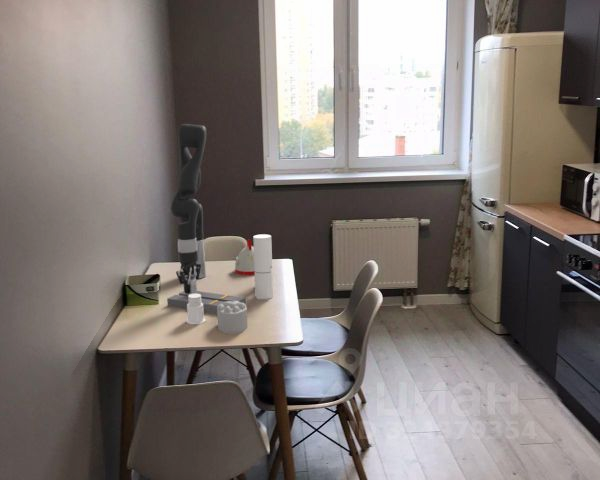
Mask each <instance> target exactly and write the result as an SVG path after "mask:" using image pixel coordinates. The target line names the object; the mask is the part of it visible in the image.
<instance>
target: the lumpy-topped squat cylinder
mask: <svg viewBox="0 0 600 480" xmlns="http://www.w3.org/2000/svg"><path fill="white" fill-rule="evenodd" d="M216 314H217V315H216V316H217V329H218V330H219V332H221V333H224V334H228V335H229V334H232V335H233V334H239V333H242V332H244V331H246V330H247V329H248V309H247V304H246V305H245V304H244V303H241V302H239V301H226V302H224V303H222V304H219V305H218V306H217V313H216Z"/></svg>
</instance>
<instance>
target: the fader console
mask: <svg viewBox="0 0 600 480" xmlns="http://www.w3.org/2000/svg"><path fill="white" fill-rule="evenodd" d="M196 294H201V303H203V311H204V312H205V313H211V314H217V306H218V305H219V304H222V303H224V302H226V301H239V302H241V303H244V304H245V305H246V306H247V298H246V297H244V296H236V295H229V294H221V293H213V292H207V291H200V290H197V293H196ZM166 301H167V307H174V308H180V309H186V310H187V304H188V303H189V300H188V294H184V290H183V291H181V292H179V293H178V294H174V295H172V296H170V297H167V299H166Z"/></svg>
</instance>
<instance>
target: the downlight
mask: <svg viewBox="0 0 600 480" xmlns="http://www.w3.org/2000/svg"><path fill="white" fill-rule="evenodd" d="M188 300H189V303H188V304H187V309H186V310H187V311H186V312H187V319H186V320H185V321H186V323H187V324H189V325H200V324H203V323H205V322H206V318H205V316H204V315H205V313H204V312H205V311H203V303H201V294H190V295H188Z"/></svg>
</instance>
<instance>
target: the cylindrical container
mask: <svg viewBox="0 0 600 480" xmlns="http://www.w3.org/2000/svg"><path fill="white" fill-rule="evenodd" d="M252 241H253V247H254V269H255V275H254V289H255V291H254V292H255V294H254V295H255V298H256V299H257V300H269V299H271V298H273V297H274V284H273V283H274V281H273V279H274V278H273V253H272V251H273V250H272V249H273V248H272V245H273V244H272V235H270V234H265V233H263V234H256V235H253V239H252Z"/></svg>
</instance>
